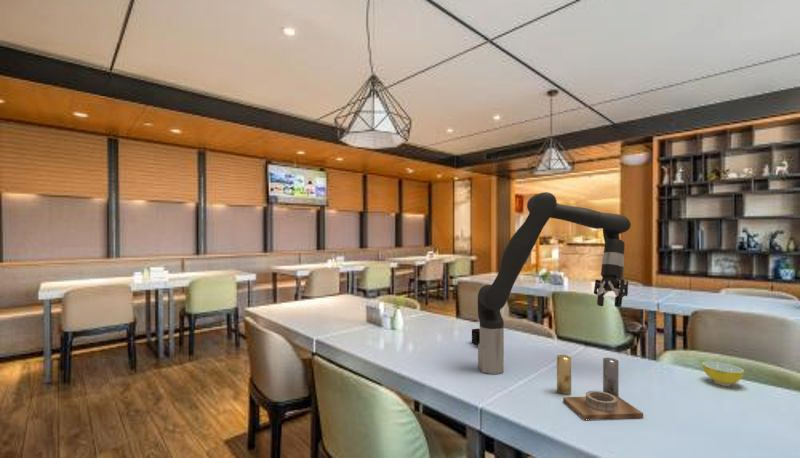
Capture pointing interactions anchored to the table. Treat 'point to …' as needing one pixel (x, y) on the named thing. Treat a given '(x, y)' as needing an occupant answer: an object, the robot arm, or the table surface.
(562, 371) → the brass peg
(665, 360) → the table surface
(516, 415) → the table surface
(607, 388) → the steel peg
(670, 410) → the table surface
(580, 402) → the socket board
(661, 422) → the table surface
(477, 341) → the digital camera
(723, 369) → the bowl
